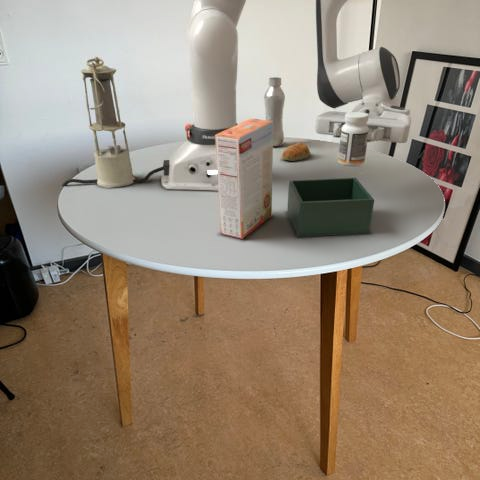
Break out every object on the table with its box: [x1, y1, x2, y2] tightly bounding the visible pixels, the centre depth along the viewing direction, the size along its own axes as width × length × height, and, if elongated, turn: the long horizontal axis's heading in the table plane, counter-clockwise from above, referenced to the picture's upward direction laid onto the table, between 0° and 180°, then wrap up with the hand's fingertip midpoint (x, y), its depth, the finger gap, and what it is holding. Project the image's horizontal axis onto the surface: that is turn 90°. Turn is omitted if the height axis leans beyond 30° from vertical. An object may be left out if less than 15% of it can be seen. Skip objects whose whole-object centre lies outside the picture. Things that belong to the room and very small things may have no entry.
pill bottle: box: [337, 111, 369, 168], centre depth 96 cm, size 6×6×10 cm
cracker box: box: [215, 118, 274, 240], centre depth 96 cm, size 14×6×21 cm, turn 150°
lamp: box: [80, 56, 136, 189], centre depth 116 cm, size 10×13×30 cm
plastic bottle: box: [263, 76, 286, 147], centre depth 146 cm, size 6×7×20 cm
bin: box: [286, 177, 375, 238], centre depth 101 cm, size 15×13×8 cm
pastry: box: [281, 142, 311, 162], centre depth 140 cm, size 9×7×4 cm
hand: (353, 135), depth 95 cm, fingers closed on pill bottle, 5 cm apart
